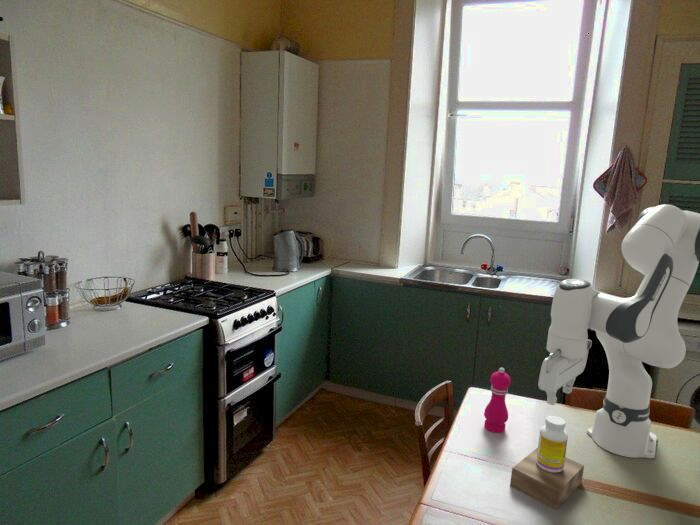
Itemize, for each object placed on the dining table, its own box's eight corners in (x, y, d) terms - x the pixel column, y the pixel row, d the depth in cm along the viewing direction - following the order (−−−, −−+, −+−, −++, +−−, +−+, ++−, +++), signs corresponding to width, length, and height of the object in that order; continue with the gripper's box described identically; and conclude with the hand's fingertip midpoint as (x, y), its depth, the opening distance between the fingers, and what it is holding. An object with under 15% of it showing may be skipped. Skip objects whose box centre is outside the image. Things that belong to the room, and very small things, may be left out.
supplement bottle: (565, 476, 126) (572, 428, 123) (537, 471, 127) (544, 424, 125) (560, 461, 132) (566, 415, 130) (534, 457, 134) (539, 412, 131)
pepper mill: (487, 419, 163) (494, 361, 159) (509, 427, 159) (517, 367, 155) (479, 428, 157) (486, 367, 153) (501, 436, 153) (509, 374, 149)
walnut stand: (537, 462, 140) (539, 445, 139) (581, 482, 132) (584, 465, 131) (509, 485, 129) (512, 467, 128) (556, 509, 121) (559, 490, 120)
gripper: (562, 359, 114) (554, 416, 117) (594, 339, 128) (587, 390, 131) (535, 351, 118) (528, 406, 121) (569, 333, 133) (563, 382, 135)
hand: (559, 397), depth 126 cm, fingers open, 8 cm apart
